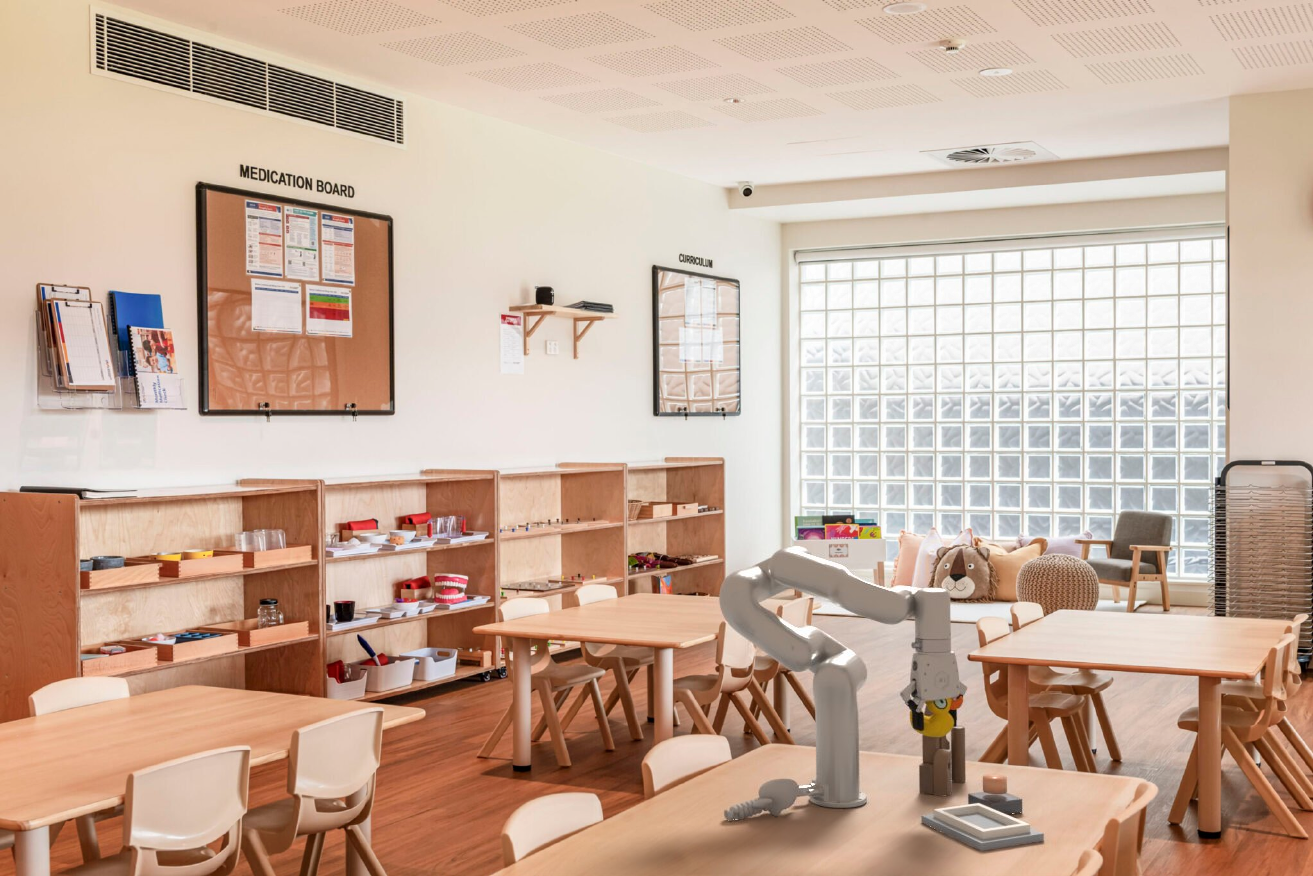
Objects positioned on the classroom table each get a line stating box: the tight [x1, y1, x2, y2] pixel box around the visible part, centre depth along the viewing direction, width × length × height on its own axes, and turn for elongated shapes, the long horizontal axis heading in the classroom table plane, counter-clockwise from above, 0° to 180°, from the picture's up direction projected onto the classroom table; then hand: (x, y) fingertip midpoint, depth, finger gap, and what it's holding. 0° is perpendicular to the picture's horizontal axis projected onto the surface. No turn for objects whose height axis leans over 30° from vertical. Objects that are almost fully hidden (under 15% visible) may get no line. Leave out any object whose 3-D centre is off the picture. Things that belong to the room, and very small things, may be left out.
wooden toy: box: [918, 704, 966, 797], centre depth 285 cm, size 15×7×25 cm, turn 151°
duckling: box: [909, 696, 964, 737], centre depth 266 cm, size 11×5×10 cm, turn 72°
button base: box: [967, 791, 1023, 815], centre depth 266 cm, size 8×8×3 cm
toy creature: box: [723, 778, 812, 822], centre depth 263 cm, size 13×7×20 cm
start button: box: [982, 773, 1008, 794], centre depth 266 cm, size 5×5×3 cm
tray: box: [920, 803, 1045, 852], centre depth 251 cm, size 15×20×3 cm
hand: (934, 727), depth 266 cm, fingers closed on duckling, 7 cm apart
